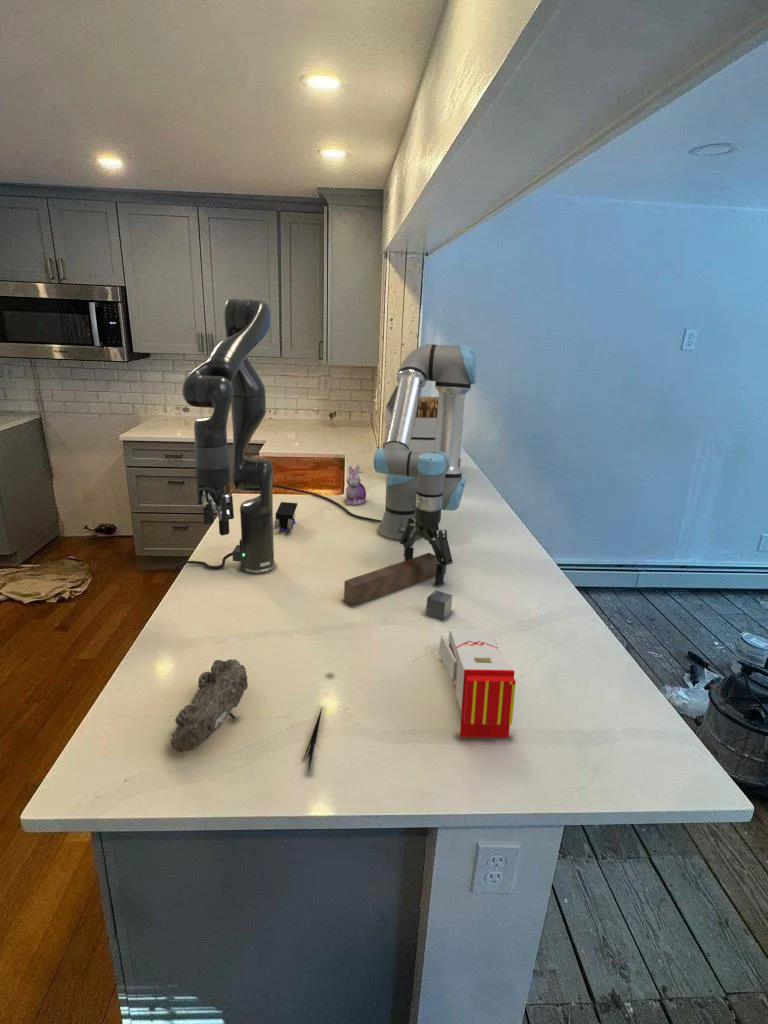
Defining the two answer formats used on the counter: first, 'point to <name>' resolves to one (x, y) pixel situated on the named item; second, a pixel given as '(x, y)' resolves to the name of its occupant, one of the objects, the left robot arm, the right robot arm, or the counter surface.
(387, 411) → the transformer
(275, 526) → the figurine character
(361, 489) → the figurine
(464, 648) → the toy
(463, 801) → the counter surface
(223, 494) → the left robot arm
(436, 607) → the slate cube
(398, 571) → the walnut bar
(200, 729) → the fossil
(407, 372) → the right robot arm
